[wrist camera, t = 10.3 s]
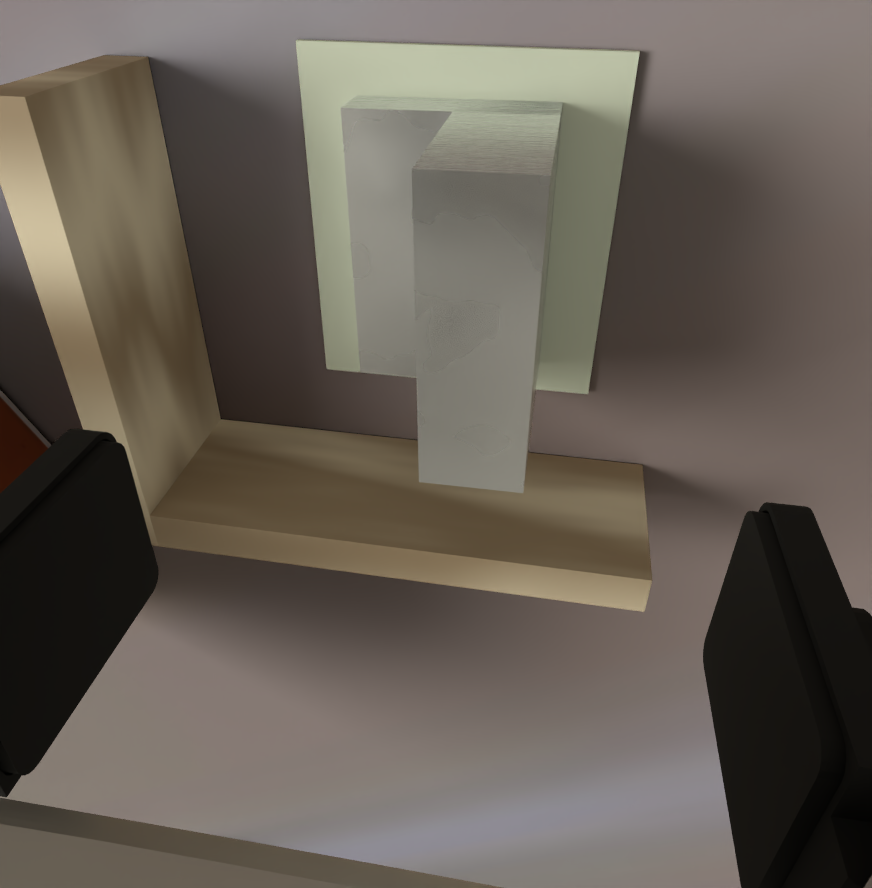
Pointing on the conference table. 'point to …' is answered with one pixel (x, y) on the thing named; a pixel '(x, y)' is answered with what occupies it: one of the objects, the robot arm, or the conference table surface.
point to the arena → (254, 444)
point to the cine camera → (17, 442)
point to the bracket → (454, 268)
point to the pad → (488, 78)
